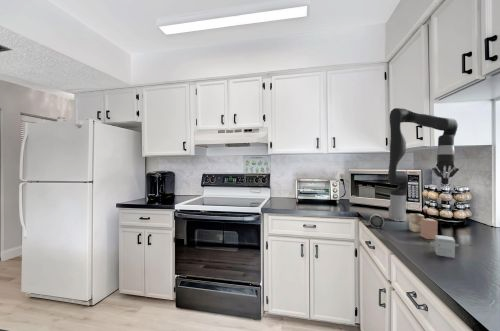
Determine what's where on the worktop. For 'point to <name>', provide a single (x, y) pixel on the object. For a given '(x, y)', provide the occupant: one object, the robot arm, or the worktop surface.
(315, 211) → the worktop surface
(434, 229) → the key two
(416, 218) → the key one
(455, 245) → the keypad board
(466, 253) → the worktop surface
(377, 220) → the ceramic mug
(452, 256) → the product box
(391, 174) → the robot arm
